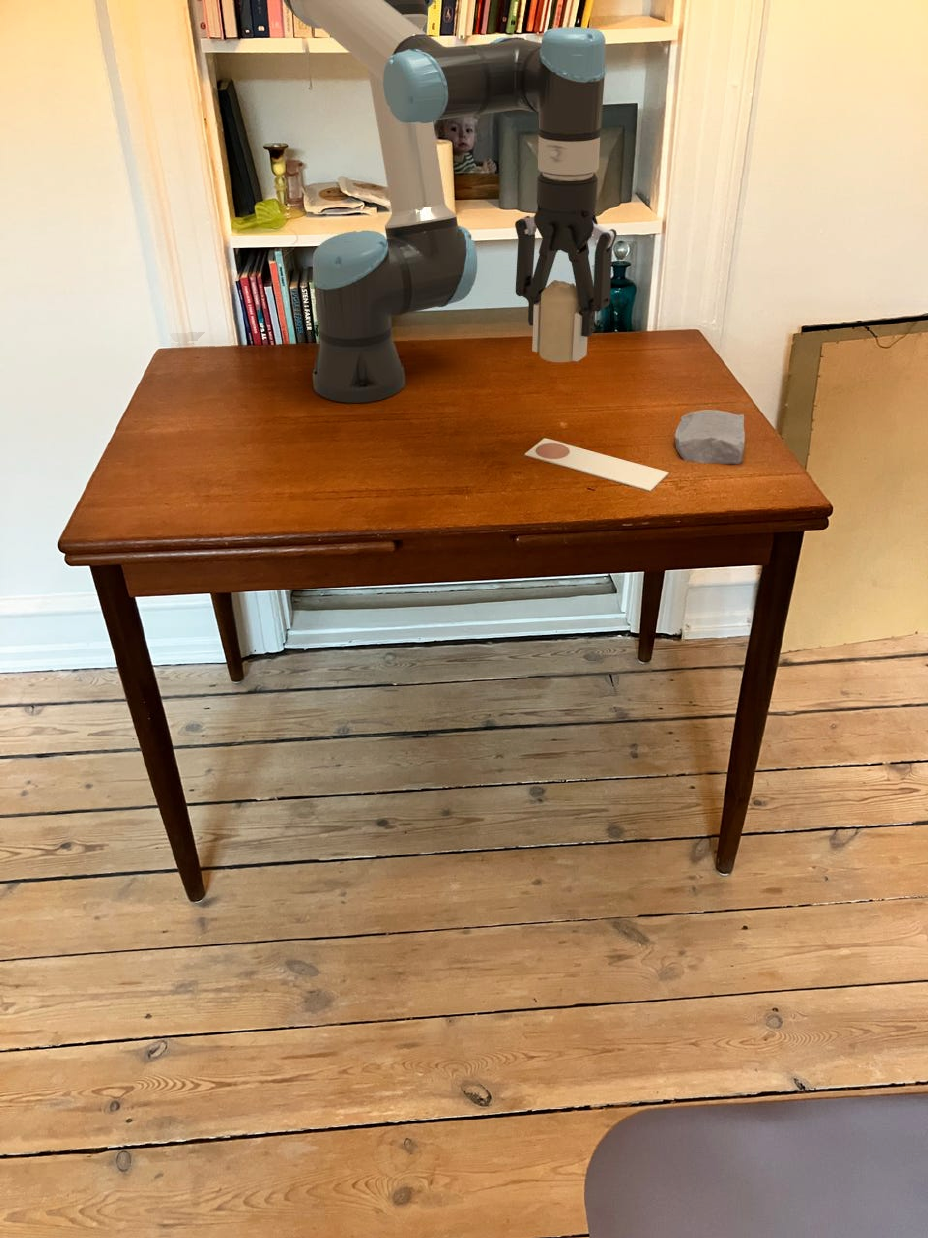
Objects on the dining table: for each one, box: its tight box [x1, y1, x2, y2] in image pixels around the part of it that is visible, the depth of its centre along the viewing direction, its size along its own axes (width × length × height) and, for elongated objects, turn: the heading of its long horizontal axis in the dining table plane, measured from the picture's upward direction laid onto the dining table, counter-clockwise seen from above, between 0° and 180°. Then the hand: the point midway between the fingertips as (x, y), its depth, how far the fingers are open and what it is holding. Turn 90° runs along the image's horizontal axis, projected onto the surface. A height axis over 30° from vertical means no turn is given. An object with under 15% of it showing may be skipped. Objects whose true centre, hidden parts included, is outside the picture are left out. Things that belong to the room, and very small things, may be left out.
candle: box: [539, 279, 581, 363], centre depth 135 cm, size 6×6×10 cm
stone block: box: [674, 409, 746, 465], centre depth 147 cm, size 12×5×10 cm
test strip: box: [524, 438, 670, 492], centre depth 143 cm, size 20×6×1 cm, turn 57°
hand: (559, 352), depth 137 cm, fingers closed on candle, 5 cm apart
